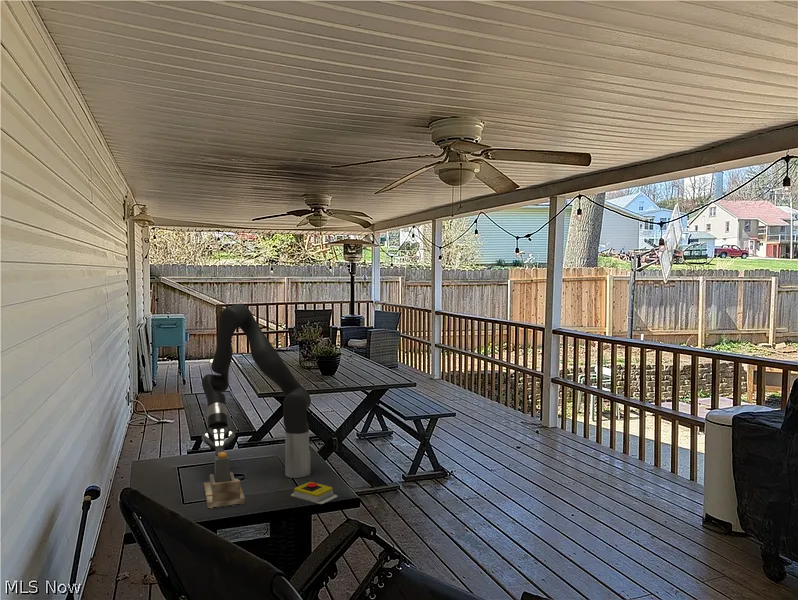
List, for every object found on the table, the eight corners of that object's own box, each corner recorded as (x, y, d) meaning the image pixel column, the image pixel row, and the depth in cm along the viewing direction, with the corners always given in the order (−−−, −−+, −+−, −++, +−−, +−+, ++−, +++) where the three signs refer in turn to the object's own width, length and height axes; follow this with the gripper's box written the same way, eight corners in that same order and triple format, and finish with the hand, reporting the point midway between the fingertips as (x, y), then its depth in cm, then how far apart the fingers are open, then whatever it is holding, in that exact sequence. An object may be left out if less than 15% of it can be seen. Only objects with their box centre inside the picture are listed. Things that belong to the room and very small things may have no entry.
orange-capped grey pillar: (229, 482, 210) (228, 450, 209) (230, 485, 206) (230, 453, 206) (214, 484, 208) (214, 452, 208) (215, 487, 204) (215, 455, 204)
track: (237, 484, 214) (237, 462, 214) (244, 503, 195) (244, 480, 195) (204, 488, 210) (204, 466, 210) (207, 508, 190) (207, 485, 190)
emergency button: (307, 477, 211) (339, 485, 202) (307, 489, 211) (338, 497, 202) (289, 484, 203) (321, 493, 195) (289, 496, 203) (321, 505, 195)
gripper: (200, 413, 221) (201, 453, 210) (235, 410, 226) (238, 449, 215) (199, 423, 226) (200, 463, 215) (234, 421, 231) (237, 459, 220)
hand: (219, 456), depth 215 cm, fingers closed
